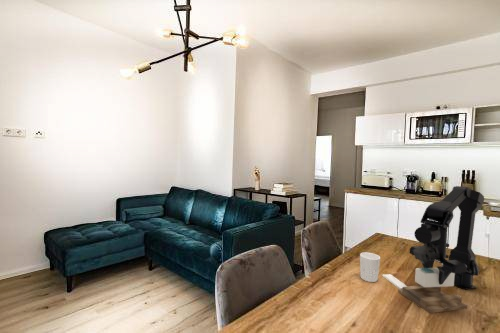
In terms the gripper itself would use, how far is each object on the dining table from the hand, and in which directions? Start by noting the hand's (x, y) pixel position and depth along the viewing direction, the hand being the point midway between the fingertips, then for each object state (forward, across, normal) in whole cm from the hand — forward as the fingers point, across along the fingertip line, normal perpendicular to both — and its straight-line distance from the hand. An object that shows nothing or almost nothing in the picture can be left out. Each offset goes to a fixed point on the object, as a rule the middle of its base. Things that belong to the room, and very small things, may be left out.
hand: (434, 281), depth 98 cm
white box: (+1, 0, 0) cm, 1 cm away
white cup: (+7, -19, -13) cm, 24 cm away
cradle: (+7, 0, -1) cm, 7 cm away
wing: (+8, -14, -4) cm, 16 cm away
